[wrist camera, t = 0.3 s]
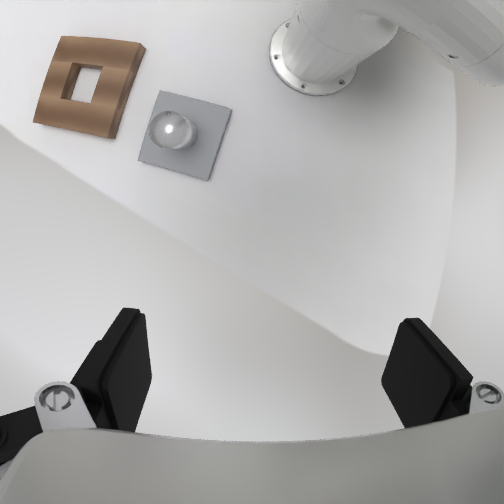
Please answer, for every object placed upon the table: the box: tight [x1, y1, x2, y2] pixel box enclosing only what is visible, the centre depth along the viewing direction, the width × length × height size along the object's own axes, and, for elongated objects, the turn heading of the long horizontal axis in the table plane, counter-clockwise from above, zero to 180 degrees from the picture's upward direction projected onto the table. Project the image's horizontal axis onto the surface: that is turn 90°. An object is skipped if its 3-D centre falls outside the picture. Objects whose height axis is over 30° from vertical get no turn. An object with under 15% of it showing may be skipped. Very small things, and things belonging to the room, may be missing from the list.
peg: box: [149, 111, 198, 149], centre depth 34 cm, size 4×4×9 cm
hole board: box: [33, 36, 146, 139], centre depth 36 cm, size 14×14×3 cm
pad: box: [138, 90, 232, 180], centre depth 40 cm, size 10×10×2 cm
